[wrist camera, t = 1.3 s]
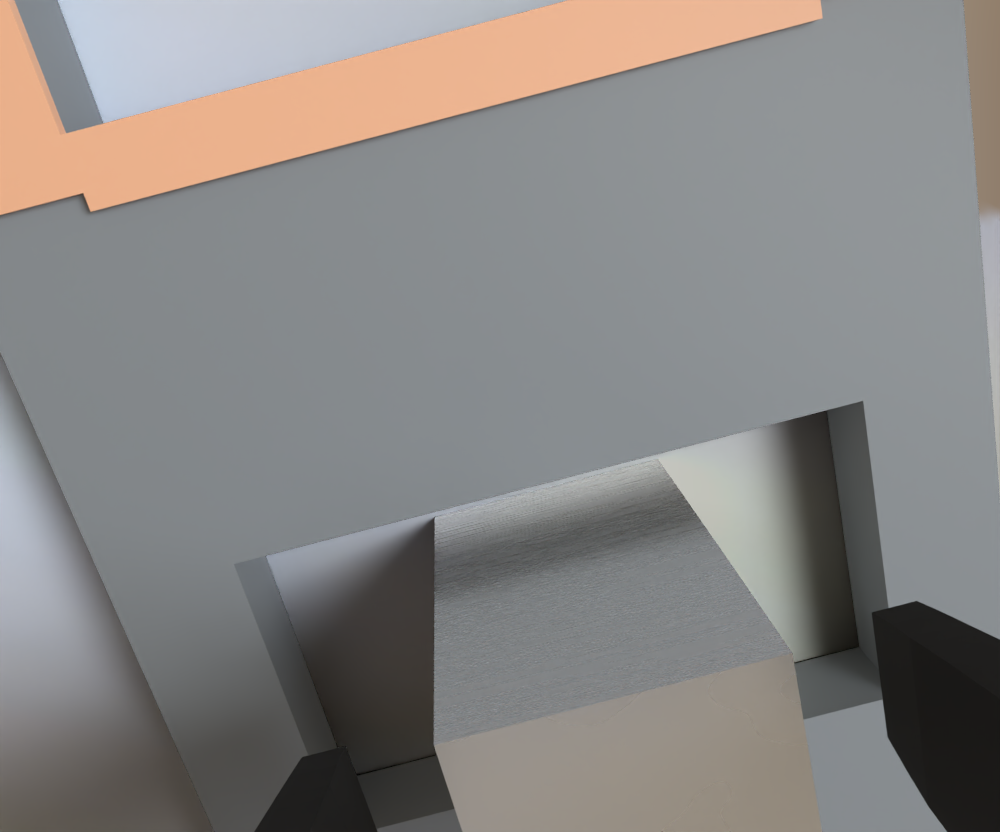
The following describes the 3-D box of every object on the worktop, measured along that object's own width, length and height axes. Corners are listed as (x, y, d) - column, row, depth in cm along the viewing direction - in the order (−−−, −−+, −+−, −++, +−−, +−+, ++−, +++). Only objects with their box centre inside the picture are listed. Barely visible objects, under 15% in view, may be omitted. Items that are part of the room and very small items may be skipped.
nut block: (490, 704, 16) (520, 1006, 11) (434, 516, 15) (433, 745, 9) (697, 651, 16) (838, 926, 11) (658, 458, 15) (792, 653, 9)
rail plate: (316, 965, 18) (303, 1047, 16) (-392, -697, 10) (-554, -861, 8) (978, 796, 18) (1032, 862, 16) (809, -1029, 10) (883, -1263, 8)
